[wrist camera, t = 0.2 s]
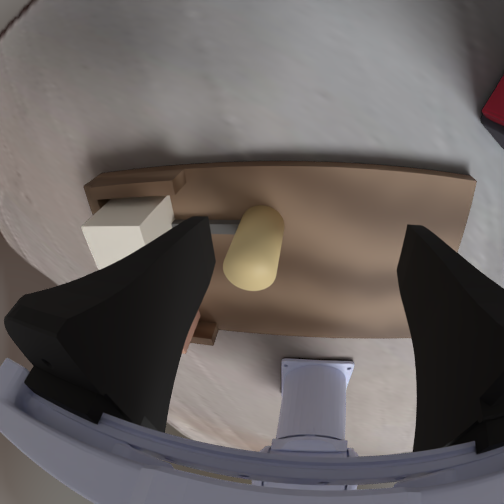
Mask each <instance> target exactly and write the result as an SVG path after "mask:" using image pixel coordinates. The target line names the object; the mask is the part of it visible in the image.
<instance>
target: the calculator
mask: <svg viewBox="0 0 504 504" xmlns="http://www.w3.org/2000/svg"><path fill="white" fill-rule="evenodd" d="M482 113H483V116H482V118H481V123H482V124H483V125H484V126H485V128H486V129H487V130H488V131H489V132H490V133H491V135H492V136H493V137H494V138H495V140H496V141H497V142H498V143H499V144H500V146H501V147H502V148H503V149H504V75H503V77H502V78H501V80H500V82H499V83H498V85H497V87H496V88H495V90H494V92H493V93H492V95H491V96H490V98H489V100H488V101H487V103H486V104H485V106H484V107H483V109H482Z"/></svg>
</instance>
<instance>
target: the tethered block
mask: <svg viewBox="0 0 504 504" xmlns="http://www.w3.org/2000/svg"><path fill="white" fill-rule="evenodd" d="M183 221H185V220H175V217H174V213H173V209H172V204H171V200H170V195H168V196H147V197H129V198H114V199H111V200H110V201H109V202H107V203H106V204H105V205H104V206H103V207H102V208H101V209H99V210H98V211H97V212H96V213H95V214H94V215H93V216H92V217H91V218H90V219H88V220H87V221H86V222H85V223H84V224H83V225H82V226H81V228H82V231H83V234H84V236H85V239H86V241H87V244H88V246H89V248H90V251H91V253H92V256H93V258H94V260H95V263H96V265H97V267H98V269H99V270H100V269H103V268H105V267H107V266H109V265H111V264H113V263H115V262H117V261H119V260H121V259H123V258H124V257H126V256H128V255H130V254H132V253H133V252H135V251H137V250H138V249H140V248H141V247H143V246H145V245H146V244H148V243H150V242H151V241H153V240H155V239H156V238H158V237H159V236H161V235H162V234H164V233H165V232H167V231H168V230H170V229H172V228H173V227H175V226H176V225H178V224H179V223H181V222H183ZM209 224H210V230H211V234H234V238H233V240H232V243H231V245H230V247H229V250H228V252H227V255H226V257H225V259H224V262H223V271H224V274H225V276H226V278H227V279H228V280H229V281H230V282H231V283H232V284H233V285H235V286H237V287H238V288H241V289H244V290H248V291H259V290H263V289H265V288H267V287H269V286H270V285H271V284H272V283H273V282H274V280H275V278H276V274H277V268H278V263H279V257H280V251H281V245H282V239H283V233H284V226H285V225H284V220H283V218H282V216H281V215H280V213H279V212H278V211H276V210H275V209H273V208H271V207H269V206H264V205H258V206H254V207H251V208H249V209H248V210H247V211H246V212H245V213H244V214H243V216H242V219H241V220H209Z"/></svg>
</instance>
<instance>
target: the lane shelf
mask: <svg viewBox="0 0 504 504" xmlns="http://www.w3.org/2000/svg"><path fill="white" fill-rule="evenodd" d="M476 182H477V181H476V180H475V179H474V178H473V177H471V176H470V175H463V174H457V173H450V172H443V171H435V170H427V169H418V168H409V167H399V166H388V165H375V164H360V163H342V162H315V161H245V162H218V163H199V164H184V165H171V166H160V167H149V168H140V169H131V170H122V171H114V172H107V173H101V174H100V175H98V176H97V177H95V178H94V179H93V180H91V181H90V182H88V183H87V184H86V185H84V190H85V193H86V196H87V199H88V202H89V205H90V208H91V211H92V214H93V215H94V214H95V213H96V212H97V211H98V210H99V209H101V208H102V207H103V206H104V205H105V204H106V203H107V202H109V201H110V200H111V199H114V198H129V197H147V196H168V195H170V200H171V204H172V209H173V213H174V217H175V220H186V219H188V218H190V217H192V216H208V218H209V220H241V219H242V216H243V214H244V213H245V212H246V211H247V210H248V209H249V208H251V207H254V206H258V205H264V206H269V207H271V208H273V209H275V210H276V211H278V212H279V213H280V215H281V216H282V218H283V220H284V225H285V226H284V233H283V239H282V245H281V251H280V257H279V263H278V268H277V274H276V278H275V280H274V282H273V283H272V284H271V285H270V286H269V287H267V288H265V289H263V290H259V291H248V290H244V289H241V288H238V287H237V286H235V285H233V284H232V283H231V282H230V281H229V280H228V279H227V278H226V276H225V274H224V271H223V262H224V259H225V257H226V255H227V252H228V250H229V247H230V245H231V243H232V240H233V238H234V234H211V236H212V242H213V248H214V253H215V259H216V263H215V267H214V271H213V274H212V278H211V281H210V284H209V287H208V289H207V291H206V294H205V296H204V298H203V300H202V303H201V305H200V307H199V312H200V319H199V321H198V324H197V326H196V329H195V331H194V334H193V336H192V339H191V341H190V343H197V344H204V345H212V346H213V345H214V342H215V339H216V336H217V333H218V330H227V331H237V332H247V333H259V334H272V335H286V336H304V337H326V338H411V334H410V330H409V326H408V322H407V318H406V314H405V311H404V307H403V303H402V299H401V296H400V291H399V285H398V278H397V271H396V270H397V266H398V262H399V258H400V254H401V250H402V246H403V242H404V237H405V233H406V228H407V224H411V225H423V226H424V227H426V228H427V229H429V230H430V231H432V232H433V233H434V234H435V235H437V236H438V237H439V238H440V239H442V240H443V241H444V242H445V243H446V244H448V245H449V246H450V247H451V248H452V249H453V250H455V251H456V252H458V249H459V246H460V243H461V239H462V236H463V233H464V230H465V226H466V223H467V219H468V215H469V212H470V208H471V204H472V200H473V196H474V191H475V187H476Z"/></svg>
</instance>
